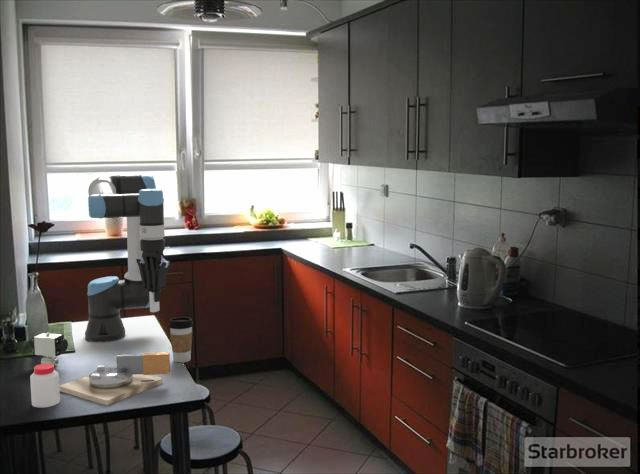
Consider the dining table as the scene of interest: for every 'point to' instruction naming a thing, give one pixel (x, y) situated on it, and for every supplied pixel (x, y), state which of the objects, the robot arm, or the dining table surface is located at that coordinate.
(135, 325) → the dining table surface
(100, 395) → the light wood square board
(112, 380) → the silver saucepan
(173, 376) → the dining table surface
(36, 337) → the pneumatic valve
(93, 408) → the dining table surface
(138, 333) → the dining table surface
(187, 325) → the coffee cup
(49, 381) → the pill bottle
